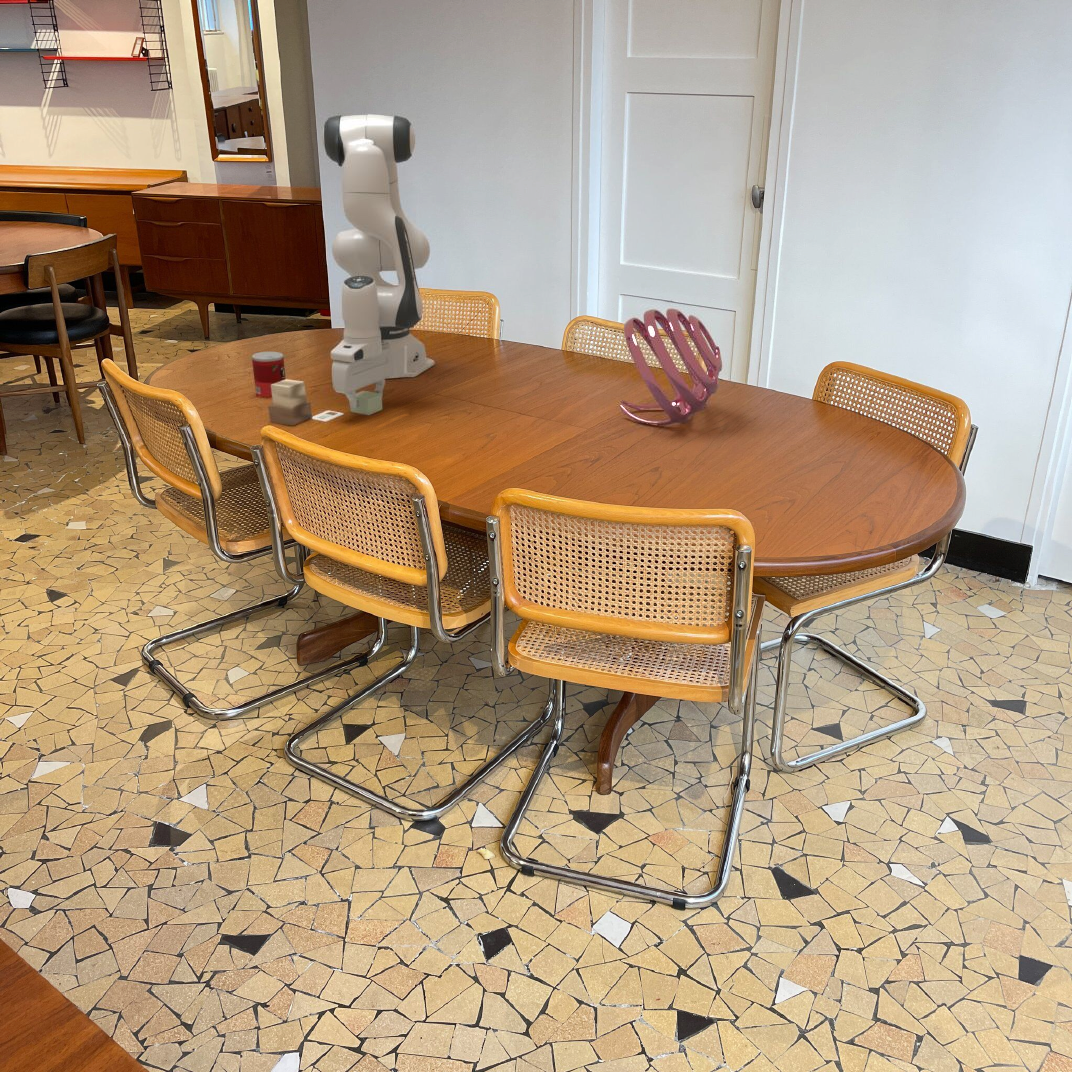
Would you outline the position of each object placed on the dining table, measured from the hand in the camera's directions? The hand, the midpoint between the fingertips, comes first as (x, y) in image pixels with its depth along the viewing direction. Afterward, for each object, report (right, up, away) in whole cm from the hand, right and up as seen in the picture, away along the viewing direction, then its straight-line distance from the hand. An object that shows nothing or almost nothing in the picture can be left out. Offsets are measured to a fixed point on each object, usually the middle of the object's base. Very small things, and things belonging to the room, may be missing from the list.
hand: (366, 402), depth 246 cm
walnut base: (-17, -5, -6) cm, 19 cm away
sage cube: (0, -3, +2) cm, 3 cm away
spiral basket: (+74, -4, 0) cm, 74 cm away
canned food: (-27, +3, +14) cm, 31 cm away
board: (-16, -5, -4) cm, 17 cm away
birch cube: (-17, -1, -7) cm, 19 cm away
